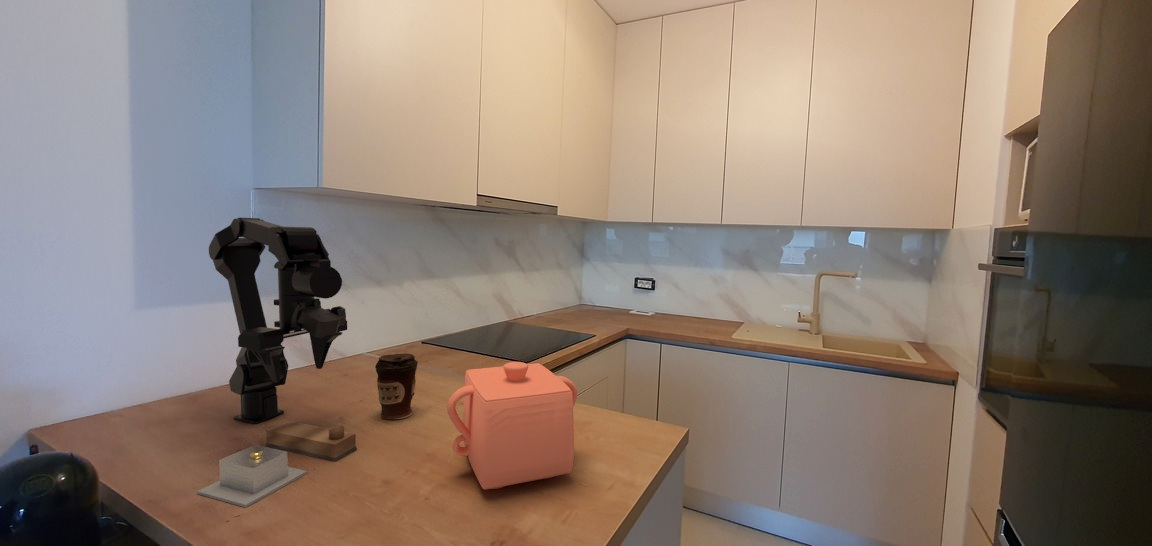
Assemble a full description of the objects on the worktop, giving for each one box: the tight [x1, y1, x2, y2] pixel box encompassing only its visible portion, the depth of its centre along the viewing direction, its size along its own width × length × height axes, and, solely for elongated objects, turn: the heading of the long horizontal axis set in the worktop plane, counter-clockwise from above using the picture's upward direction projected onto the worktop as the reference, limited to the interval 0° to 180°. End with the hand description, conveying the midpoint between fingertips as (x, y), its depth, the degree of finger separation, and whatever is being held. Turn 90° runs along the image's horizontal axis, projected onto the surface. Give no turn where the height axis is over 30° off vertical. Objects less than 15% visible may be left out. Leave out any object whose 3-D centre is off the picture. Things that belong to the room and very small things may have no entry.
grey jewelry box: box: [218, 444, 289, 494], centre depth 71 cm, size 7×6×5 cm
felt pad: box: [196, 466, 308, 508], centre depth 71 cm, size 10×10×1 cm
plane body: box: [265, 420, 358, 462], centre depth 83 cm, size 16×5×5 cm, turn 72°
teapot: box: [446, 361, 578, 491], centre depth 81 cm, size 25×23×18 cm
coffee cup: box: [374, 353, 419, 420], centre depth 99 cm, size 9×8×13 cm
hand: (298, 375), depth 87 cm, fingers open, 9 cm apart
